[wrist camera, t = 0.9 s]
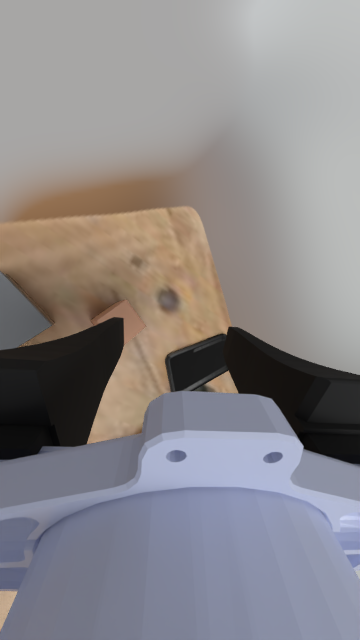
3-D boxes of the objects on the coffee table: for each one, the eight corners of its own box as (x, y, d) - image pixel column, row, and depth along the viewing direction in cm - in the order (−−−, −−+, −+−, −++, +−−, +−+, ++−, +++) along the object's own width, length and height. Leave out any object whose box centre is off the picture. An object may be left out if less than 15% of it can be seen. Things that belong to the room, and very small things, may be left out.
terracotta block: (110, 343, 24) (120, 348, 20) (90, 320, 22) (96, 320, 18) (132, 325, 26) (146, 326, 21) (115, 302, 24) (126, 299, 20)
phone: (232, 368, 37) (174, 401, 29) (228, 366, 38) (171, 398, 30) (227, 332, 36) (166, 356, 28) (223, 332, 37) (162, 354, 29)
